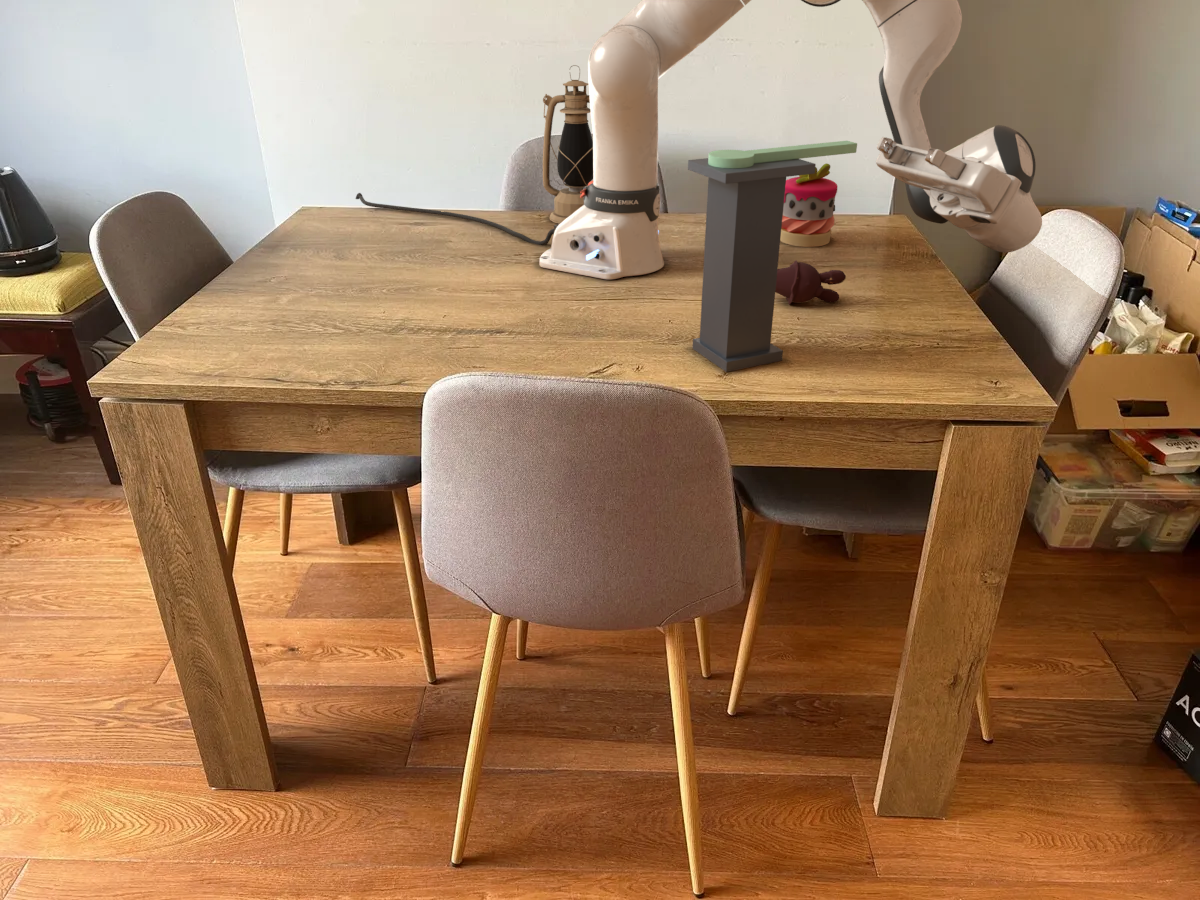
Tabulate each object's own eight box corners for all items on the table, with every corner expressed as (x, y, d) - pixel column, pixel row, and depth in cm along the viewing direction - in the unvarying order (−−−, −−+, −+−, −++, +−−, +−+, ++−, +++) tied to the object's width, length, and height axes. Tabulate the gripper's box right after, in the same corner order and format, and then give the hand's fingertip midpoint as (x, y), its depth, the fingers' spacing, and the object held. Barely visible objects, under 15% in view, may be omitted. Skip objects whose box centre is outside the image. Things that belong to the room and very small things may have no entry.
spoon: (837, 147, 118) (838, 138, 117) (864, 155, 113) (866, 145, 113) (699, 161, 110) (700, 151, 110) (723, 170, 106) (724, 159, 105)
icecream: (751, 270, 135) (850, 282, 134) (751, 245, 140) (846, 256, 139) (744, 308, 140) (839, 319, 139) (744, 282, 145) (835, 293, 144)
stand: (757, 336, 129) (773, 151, 116) (794, 358, 121) (815, 163, 109) (679, 351, 124) (687, 160, 111) (713, 374, 117) (726, 173, 104)
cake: (765, 238, 174) (772, 159, 166) (802, 229, 179) (810, 152, 172) (805, 250, 166) (815, 168, 159) (842, 240, 172) (853, 161, 164)
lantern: (614, 211, 192) (614, 62, 178) (609, 225, 182) (609, 68, 168) (548, 210, 194) (543, 61, 179) (539, 224, 183) (533, 68, 169)
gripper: (923, 157, 134) (867, 115, 127) (1032, 183, 118) (975, 137, 110) (901, 196, 136) (844, 156, 128) (1006, 227, 120) (948, 184, 112)
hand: (905, 148), depth 119 cm, fingers open, 8 cm apart
